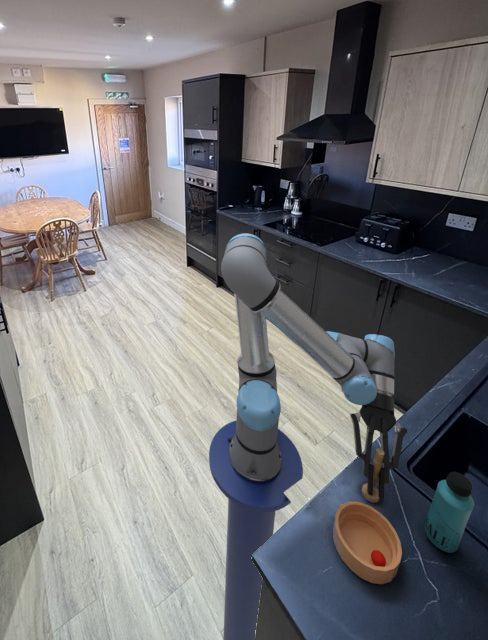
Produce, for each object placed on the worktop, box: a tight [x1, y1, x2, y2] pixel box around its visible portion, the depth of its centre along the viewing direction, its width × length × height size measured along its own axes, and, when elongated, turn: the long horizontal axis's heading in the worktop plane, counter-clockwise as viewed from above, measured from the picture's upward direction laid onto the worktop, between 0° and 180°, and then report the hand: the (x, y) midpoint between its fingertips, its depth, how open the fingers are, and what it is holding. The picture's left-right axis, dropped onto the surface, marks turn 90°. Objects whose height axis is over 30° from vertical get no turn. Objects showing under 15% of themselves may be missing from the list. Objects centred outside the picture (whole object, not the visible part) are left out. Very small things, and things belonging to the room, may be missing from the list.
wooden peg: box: [361, 447, 384, 504], centre depth 81 cm, size 4×4×15 cm
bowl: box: [332, 500, 403, 585], centre depth 72 cm, size 13×13×5 cm
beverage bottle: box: [424, 471, 475, 554], centre depth 71 cm, size 6×7×20 cm
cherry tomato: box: [371, 550, 386, 567], centre depth 69 cm, size 3×3×3 cm
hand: (375, 496), depth 79 cm, fingers closed on wooden peg, 2 cm apart
